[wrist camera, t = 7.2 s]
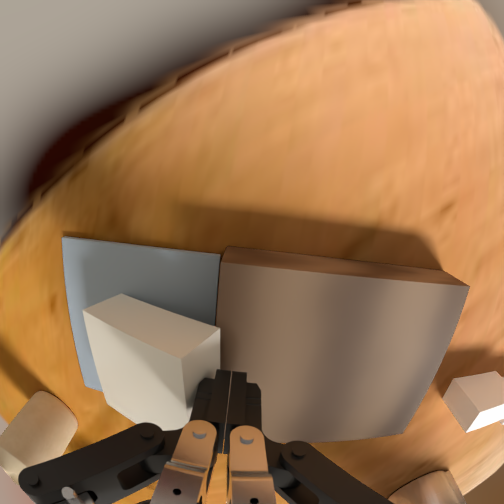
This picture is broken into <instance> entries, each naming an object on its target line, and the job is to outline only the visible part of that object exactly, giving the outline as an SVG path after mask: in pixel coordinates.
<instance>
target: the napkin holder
mask: <svg viewBox="0 0 504 504" xmlns="http://www.w3.org/2000/svg"><path fill="white" fill-rule="evenodd" d="M442 399H443V401H444V402H445V404H446V405H447V406H448V408H449V409H450V411H451V412H452V414H453V415H454V417H455V418H456V419H457V421H458V422H459V424H460V425H461V427H462V428H463V430H464V431H465V433H467V432H470V431H472V430H475V429H478V428H481V427H484V426H486V425H489V424H491V423H494V422H496V421H499V422H500V423H501V424H502V425H503V424H504V377H501V376H500V375H499V374H498V373H497V372H496V371H492V372H487V373H482V374H477V375H472V376H466V377H460V378H453V380H452V382H451V384H450V385H449V387H448V389H447V391H446V393H445V394H444V396H443V398H442Z"/></svg>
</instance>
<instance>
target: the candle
mask: <svg viewBox="0 0 504 504" xmlns="http://www.w3.org/2000/svg"><path fill="white" fill-rule="evenodd" d="M77 428H78V422H77V419H76V417H75V416H74V414H73V413H72V411H71V410H70V409H69V408H68V407H67V406H66V405H65V404H64V403H63V402H62V401H60V400H59V399H58V398H56V397H55V396H53V395H52V394H50V393H48V392H45V391H38V392H36V393H35V394H34V395H33V396H32V397H31V398H30V400H29V401H28V402H27V403H26V404H25V406H24V407H23V408H22V409H21V411H20V412H19V413H18V414H17V416H16V417H15V418H14V419H13V421H12V422H11V423H10V424H9V426H8V427H7V428H6V430H5V431H4V432H3V433H2V435H1V436H0V466H1V467H2V468H3V469H4V471H5V472H6V473H7V474H8V475H9V476H10V477H11V479H12V480H13V482H15V483H16V484H18V485H19V482H18V476H19V474H20V472H21V471H22V470H23V469H24V468H27V467H30V466H33V465H36V464H39V463H42V462H45V461H48V460H51V459H54V458H57V457H60V456H62V454H63V453H64V451H65V449H66V447H67V446H68V444H69V442H70V441H71V439H72V437H73V435H74V434H75V432H76V430H77Z"/></svg>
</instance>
